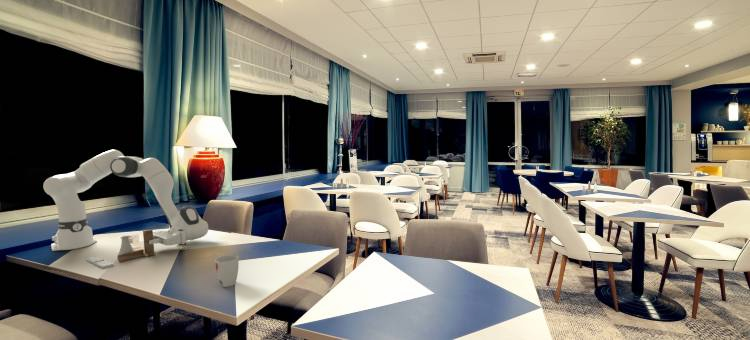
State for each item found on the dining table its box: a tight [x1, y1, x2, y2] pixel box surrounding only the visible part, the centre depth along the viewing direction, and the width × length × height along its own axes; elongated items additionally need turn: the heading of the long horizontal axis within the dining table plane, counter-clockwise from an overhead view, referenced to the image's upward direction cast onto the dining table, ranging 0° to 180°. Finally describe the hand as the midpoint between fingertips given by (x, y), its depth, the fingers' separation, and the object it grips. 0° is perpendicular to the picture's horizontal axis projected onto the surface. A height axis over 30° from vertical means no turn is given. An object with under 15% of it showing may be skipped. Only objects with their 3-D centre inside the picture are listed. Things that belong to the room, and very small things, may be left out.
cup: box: [214, 254, 240, 288], centre depth 134 cm, size 8×8×10 cm
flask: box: [116, 235, 134, 260], centre depth 170 cm, size 7×7×10 cm
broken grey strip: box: [85, 255, 114, 269], centre depth 162 cm, size 20×4×1 cm, turn 55°
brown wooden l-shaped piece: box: [117, 229, 156, 263], centre depth 172 cm, size 20×14×12 cm
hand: (146, 241), depth 170 cm, fingers closed on brown wooden l-shaped piece, 3 cm apart
